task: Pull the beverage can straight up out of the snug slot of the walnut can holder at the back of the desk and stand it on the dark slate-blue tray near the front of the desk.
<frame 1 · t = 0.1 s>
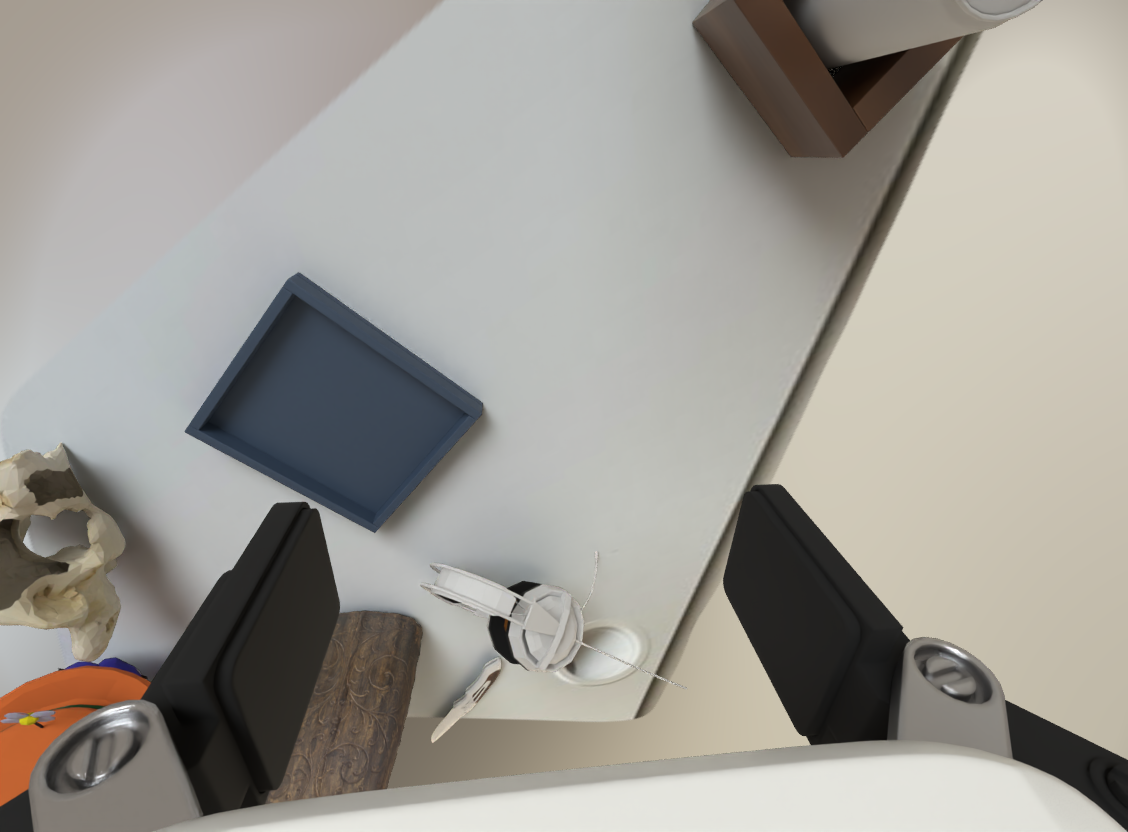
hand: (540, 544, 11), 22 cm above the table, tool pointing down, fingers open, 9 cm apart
beverage can: (809, 20, 26), resting in can holder
can holder: (811, 19, 26), on the table
headphones: (543, 578, 42), on the table
toy: (103, 771, 39), point 5 cm above the table, touching statue
statue: (364, 632, 43), on the table, touching toy
tray: (344, 410, 33), on the table
pocket knife: (453, 703, 47), point 1 cm above the table
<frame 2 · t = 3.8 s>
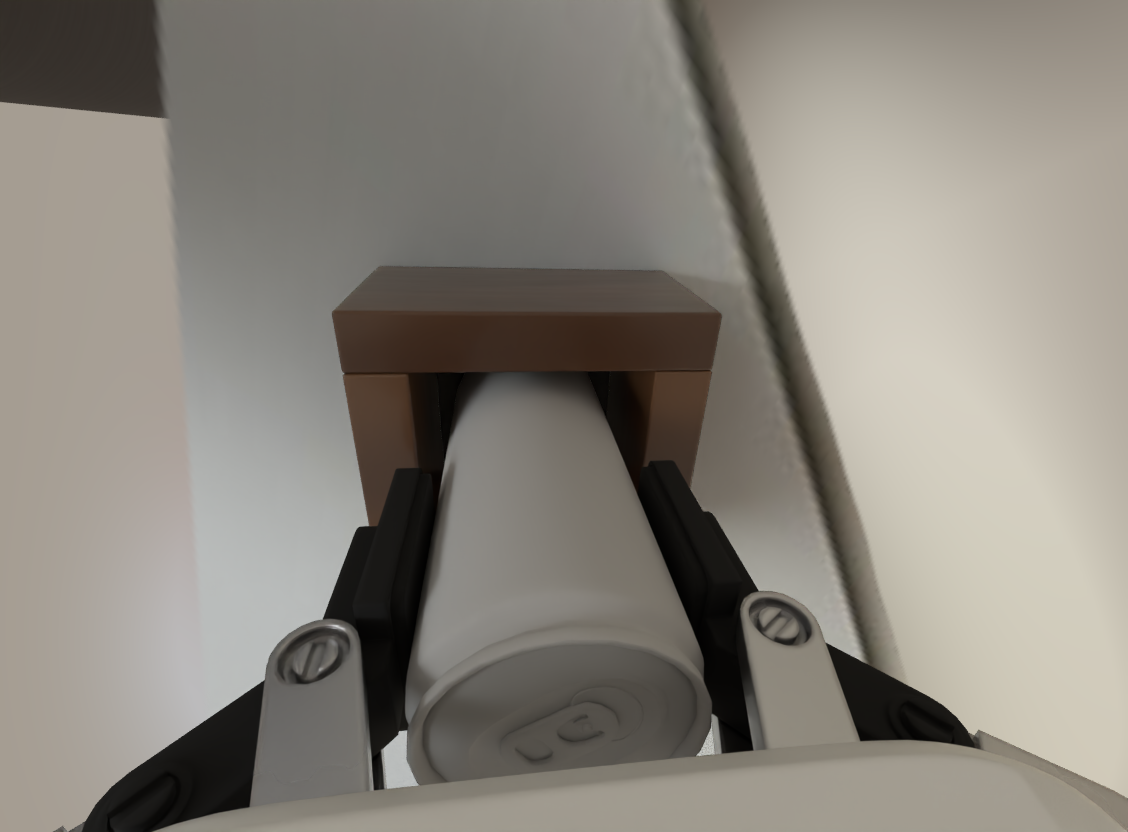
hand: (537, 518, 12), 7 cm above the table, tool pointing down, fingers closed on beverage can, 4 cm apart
beverage can: (524, 394, 18), resting in can holder, touching gripper
can holder: (525, 396, 18), on the table
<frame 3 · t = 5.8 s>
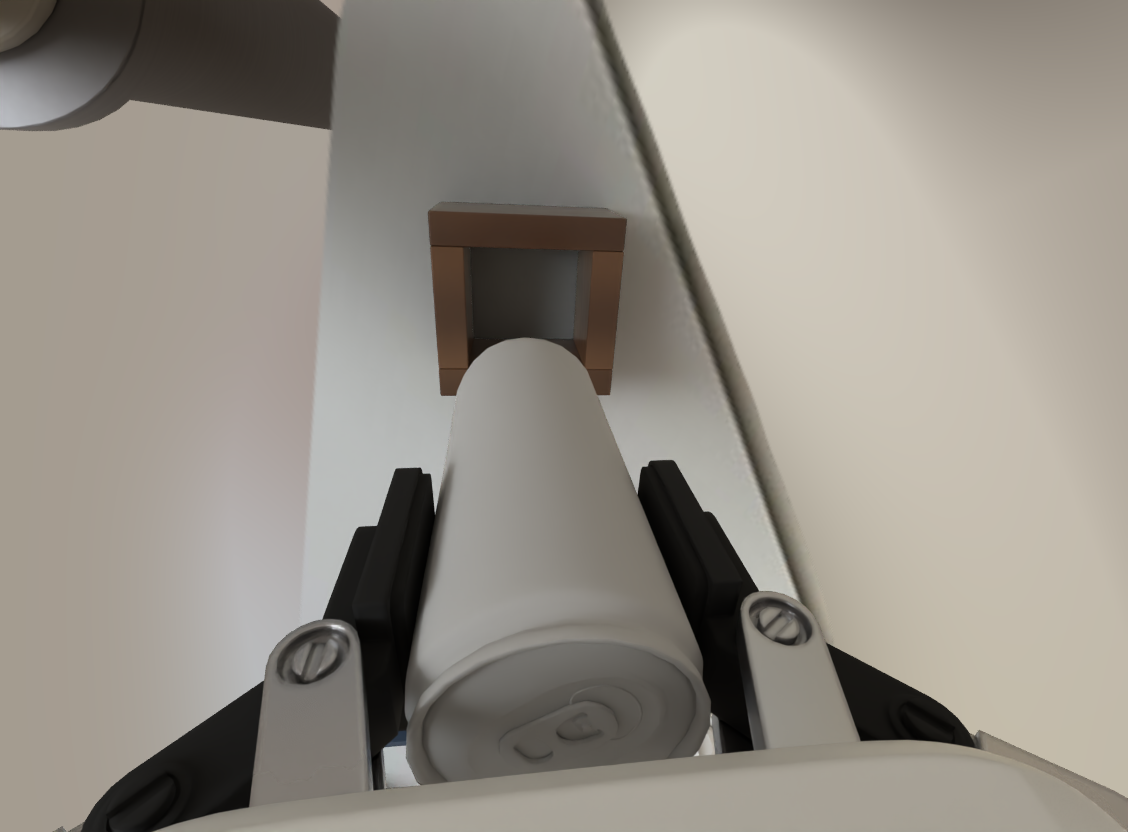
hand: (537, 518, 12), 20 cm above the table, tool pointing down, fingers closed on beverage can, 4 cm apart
beverage can: (524, 394, 18), point 13 cm above the table, touching gripper
can holder: (524, 288, 29), on the table
headphones: (675, 686, 48), on the table
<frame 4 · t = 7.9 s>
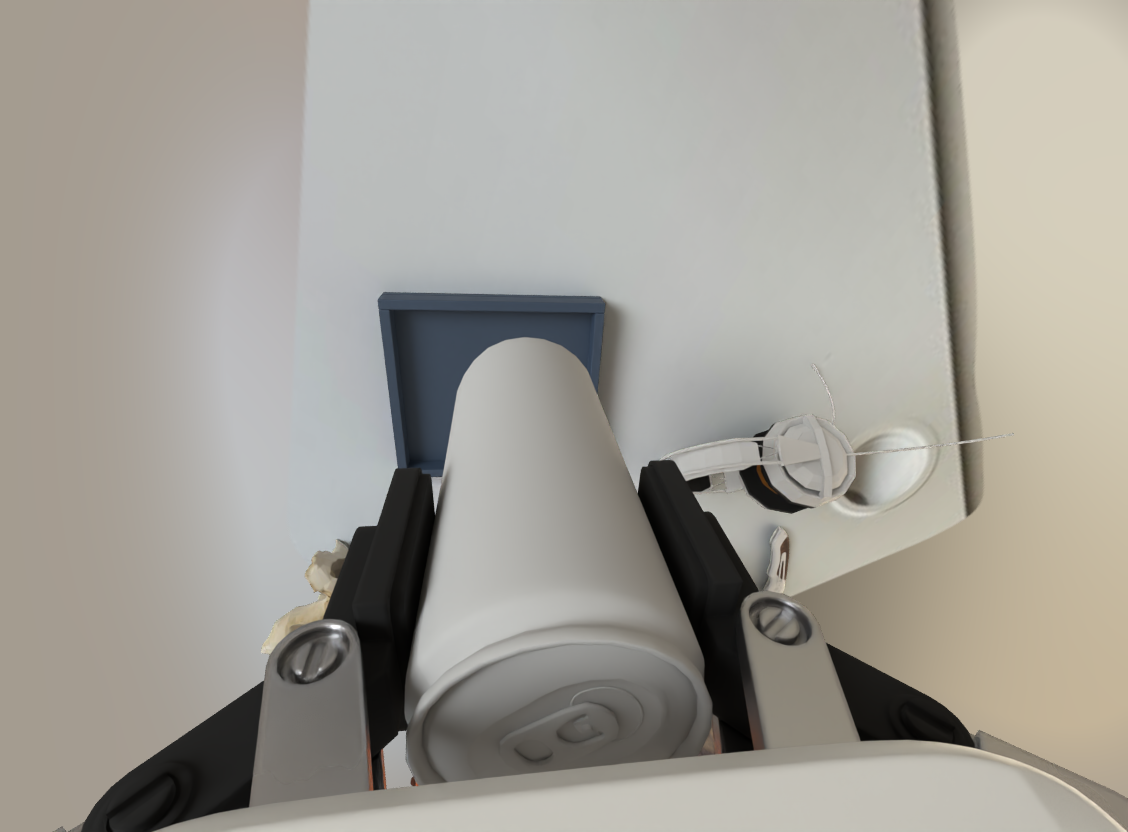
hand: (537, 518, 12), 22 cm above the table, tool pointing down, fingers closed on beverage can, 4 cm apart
beverage can: (525, 394, 18), point 15 cm above the table, touching gripper
headphones: (774, 424, 38), on the table
decorative object: (324, 626, 32), point 8 cm above the table
tray: (496, 385, 34), on the table
pocket knife: (763, 590, 45), point 1 cm above the table
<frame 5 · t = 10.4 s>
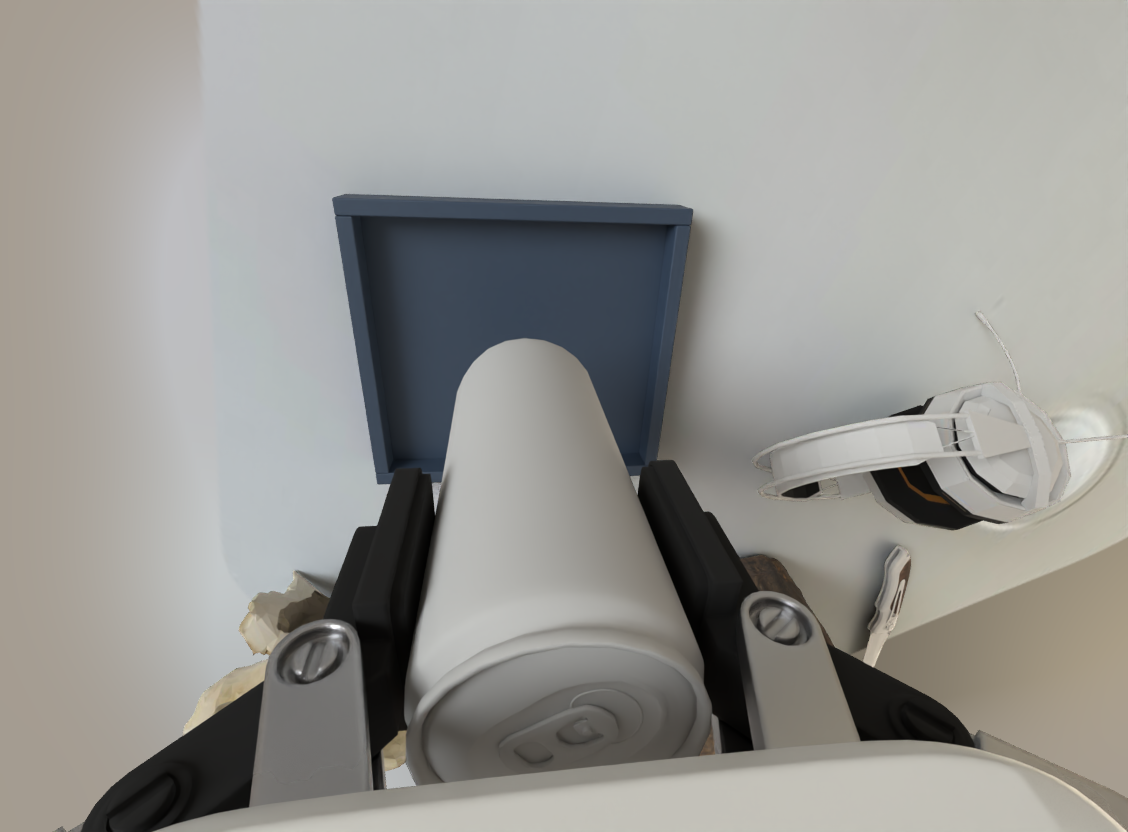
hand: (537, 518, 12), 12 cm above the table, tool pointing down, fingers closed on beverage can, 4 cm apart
beverage can: (524, 395, 18), point 5 cm above the table, touching gripper
headphones: (909, 401, 27), on the table
decorative object: (261, 712, 21), point 8 cm above the table
statue: (713, 600, 32), on the table, touching toy
tray: (519, 346, 23), on the table
pocket knife: (868, 628, 34), point 1 cm above the table
when the fingers open (7 cm above the table, at t = 12.0 s): beverage can stays where it is, resting on tray.
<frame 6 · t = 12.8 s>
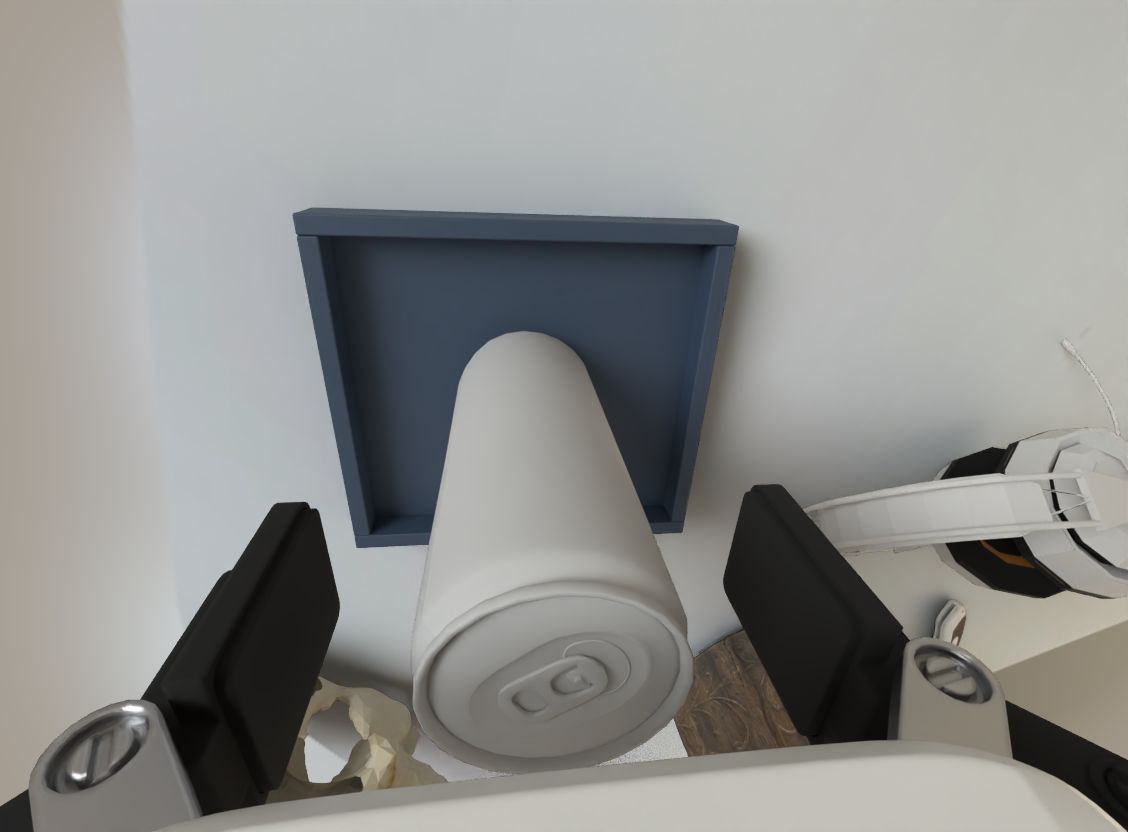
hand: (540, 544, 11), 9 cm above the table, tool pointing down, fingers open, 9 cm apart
beverage can: (524, 386, 19), resting on tray
headphones: (975, 441, 23), on the table
statue: (741, 660, 28), on the table, touching toy
tray: (524, 385, 19), on the table
pocket knife: (914, 687, 30), point 1 cm above the table
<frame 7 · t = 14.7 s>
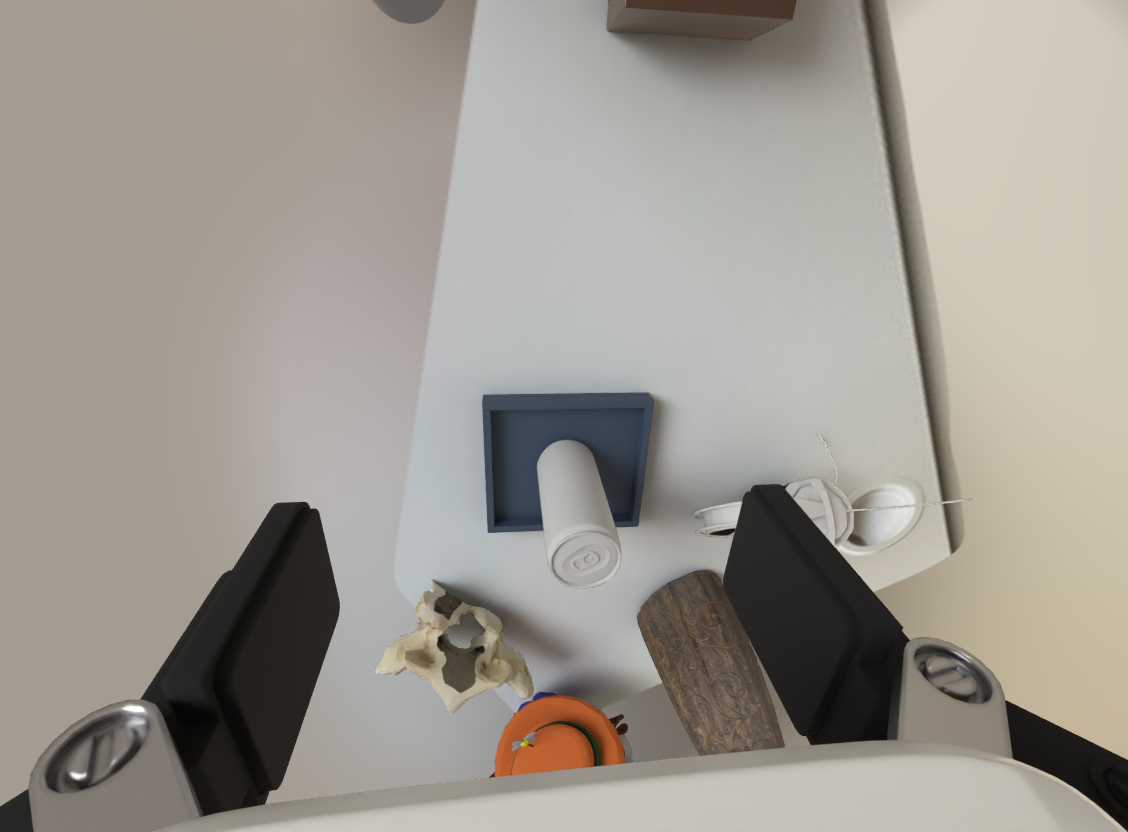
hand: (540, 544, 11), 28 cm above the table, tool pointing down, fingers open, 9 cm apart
beverage can: (564, 460, 42), resting on tray
headphones: (787, 480, 47), on the table
toy: (578, 765, 54), point 5 cm above the table, touching statue
decorative object: (435, 652, 41), point 8 cm above the table
statue: (678, 599, 52), on the table, touching toy
tray: (564, 459, 43), on the table
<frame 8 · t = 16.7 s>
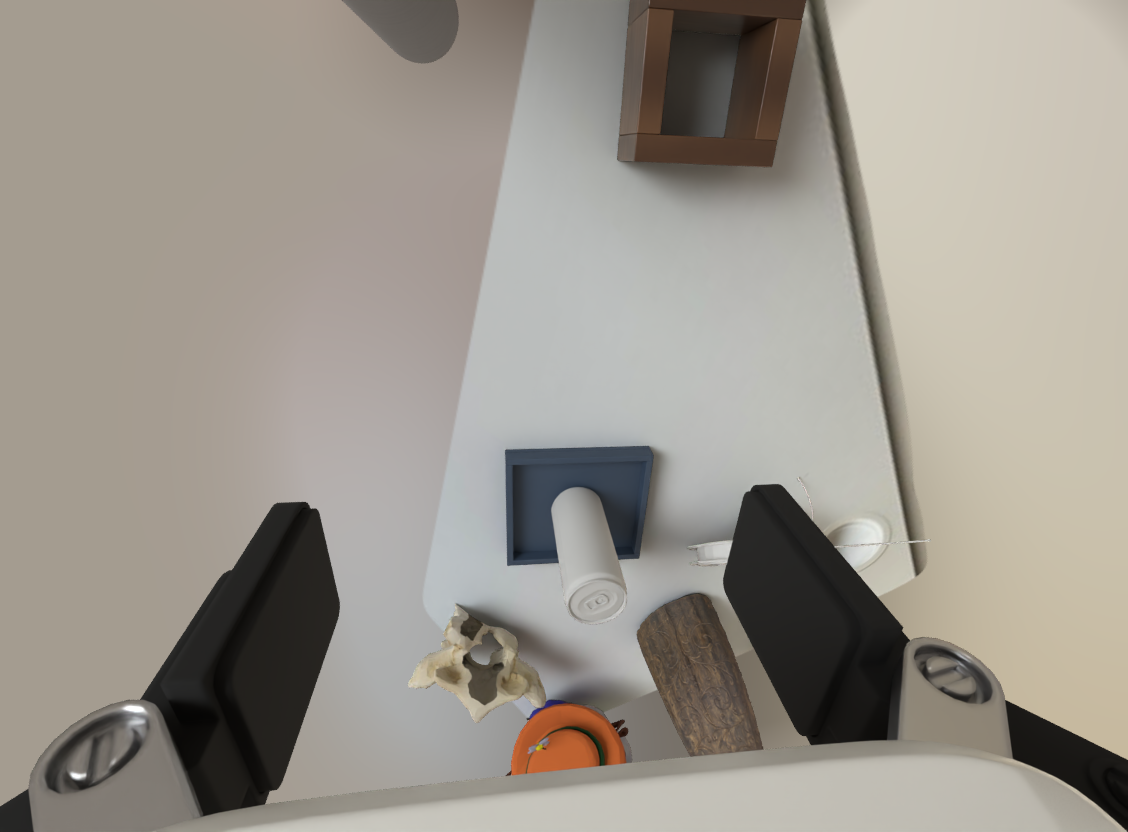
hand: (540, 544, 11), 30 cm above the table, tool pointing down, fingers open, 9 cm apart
beverage can: (575, 503, 48), resting on tray
can holder: (688, 87, 34), on the table
headphones: (770, 515, 53), on the table
toy: (584, 763, 61), point 5 cm above the table, touching statue
decorative object: (462, 671, 47), point 8 cm above the table
statue: (673, 617, 58), on the table, touching toy
tray: (575, 501, 49), on the table
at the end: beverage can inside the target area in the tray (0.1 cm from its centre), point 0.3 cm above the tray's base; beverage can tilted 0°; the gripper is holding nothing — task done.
